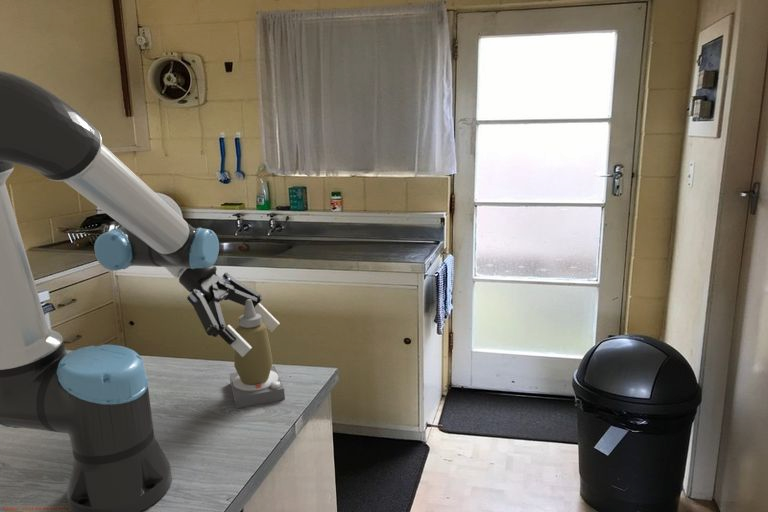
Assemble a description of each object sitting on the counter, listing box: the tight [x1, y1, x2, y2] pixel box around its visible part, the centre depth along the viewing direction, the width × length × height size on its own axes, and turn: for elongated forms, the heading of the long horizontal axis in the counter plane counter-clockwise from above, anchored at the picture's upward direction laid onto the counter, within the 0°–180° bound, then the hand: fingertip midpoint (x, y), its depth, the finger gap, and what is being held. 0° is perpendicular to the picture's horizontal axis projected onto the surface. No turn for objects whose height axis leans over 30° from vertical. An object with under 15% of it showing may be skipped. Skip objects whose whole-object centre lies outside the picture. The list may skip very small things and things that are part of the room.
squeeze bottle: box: [234, 299, 274, 385], centre depth 120 cm, size 8×8×18 cm
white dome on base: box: [229, 365, 286, 409], centre depth 123 cm, size 12×10×3 cm
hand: (262, 339), depth 120 cm, fingers open, 13 cm apart
